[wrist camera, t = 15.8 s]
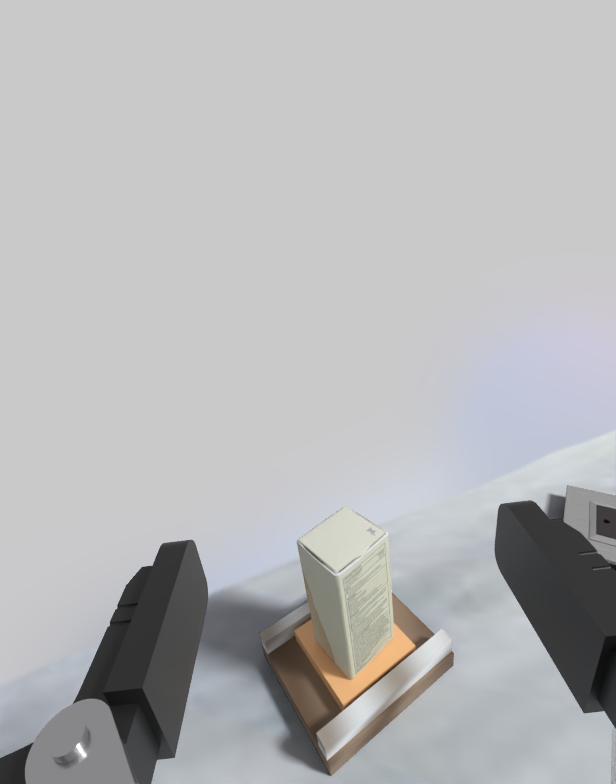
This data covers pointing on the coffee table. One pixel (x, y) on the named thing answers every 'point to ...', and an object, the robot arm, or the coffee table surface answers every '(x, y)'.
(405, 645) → the plate
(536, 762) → the coffee table surface
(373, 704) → the rail board
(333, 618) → the box
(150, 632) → the robot arm
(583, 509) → the electrical outlet
